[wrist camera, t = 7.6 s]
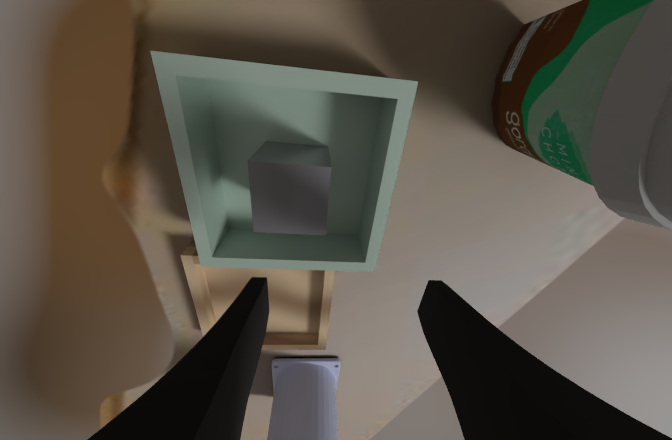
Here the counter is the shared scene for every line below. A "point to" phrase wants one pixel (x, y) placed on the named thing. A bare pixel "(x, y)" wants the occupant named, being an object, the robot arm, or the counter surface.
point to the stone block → (290, 188)
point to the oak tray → (284, 300)
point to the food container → (596, 101)
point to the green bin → (287, 127)
